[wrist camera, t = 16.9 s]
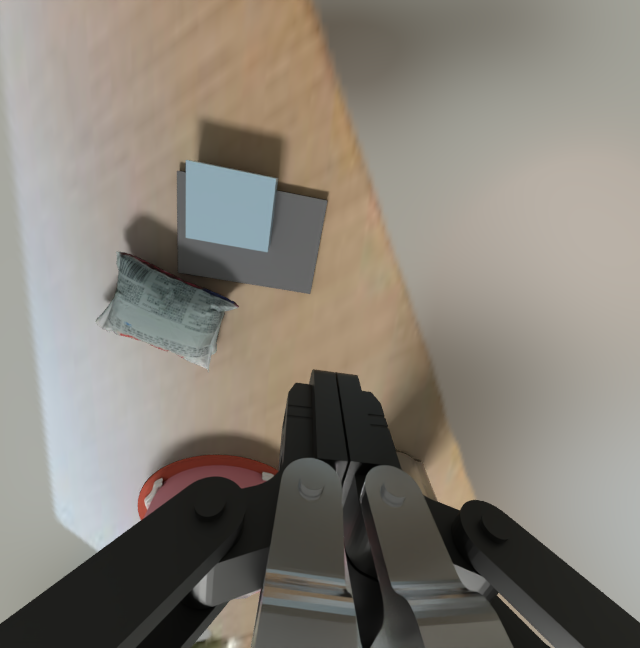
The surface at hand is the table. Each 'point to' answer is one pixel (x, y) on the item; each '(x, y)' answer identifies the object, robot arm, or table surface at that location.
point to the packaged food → (165, 311)
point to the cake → (196, 468)
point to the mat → (257, 266)
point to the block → (229, 206)
